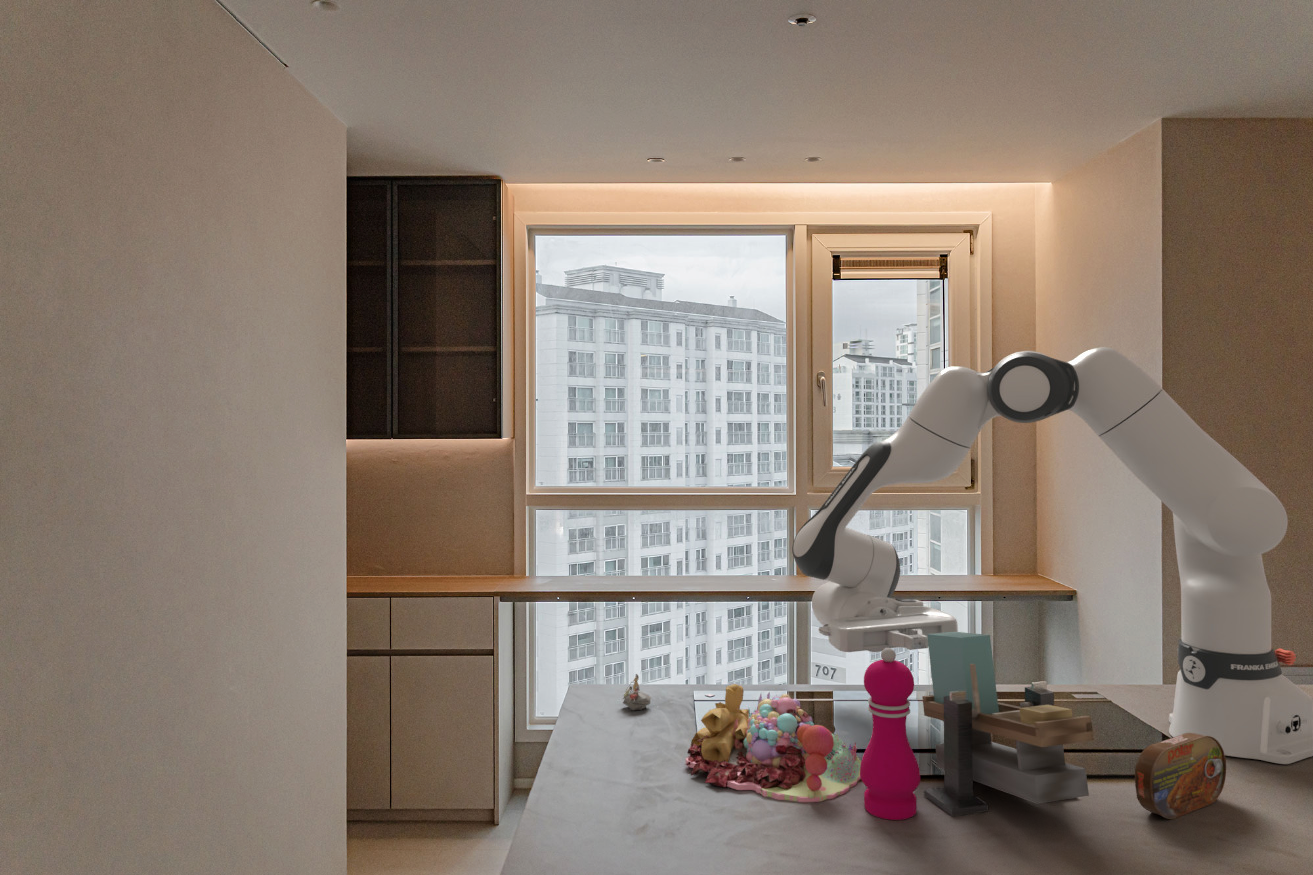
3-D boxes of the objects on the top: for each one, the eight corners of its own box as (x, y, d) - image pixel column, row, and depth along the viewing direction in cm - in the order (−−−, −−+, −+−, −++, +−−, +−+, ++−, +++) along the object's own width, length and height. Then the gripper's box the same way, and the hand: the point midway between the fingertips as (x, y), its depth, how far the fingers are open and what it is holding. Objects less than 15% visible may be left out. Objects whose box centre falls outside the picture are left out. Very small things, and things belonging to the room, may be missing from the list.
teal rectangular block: (962, 704, 121) (954, 631, 122) (999, 712, 113) (989, 634, 115) (935, 707, 120) (927, 634, 121) (969, 716, 112) (960, 637, 114)
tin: (1154, 826, 102) (1154, 755, 101) (1129, 815, 104) (1128, 746, 104) (1229, 798, 108) (1229, 731, 108) (1203, 789, 111) (1203, 724, 111)
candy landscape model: (662, 784, 116) (661, 716, 116) (715, 725, 138) (714, 668, 138) (850, 813, 107) (850, 739, 107) (876, 745, 129) (875, 683, 129)
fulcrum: (1043, 777, 115) (1042, 673, 115) (1076, 796, 110) (1075, 686, 109) (924, 795, 111) (922, 686, 110) (951, 816, 105) (950, 701, 105)
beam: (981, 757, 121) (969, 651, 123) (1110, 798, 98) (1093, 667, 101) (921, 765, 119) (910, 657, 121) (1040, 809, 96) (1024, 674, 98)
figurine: (654, 706, 147) (654, 673, 147) (645, 714, 143) (644, 680, 143) (627, 703, 149) (626, 670, 149) (617, 711, 145) (616, 677, 145)
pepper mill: (923, 824, 103) (921, 657, 102) (861, 820, 104) (859, 654, 104) (917, 798, 110) (916, 641, 109) (859, 794, 111) (857, 639, 111)
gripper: (813, 608, 138) (855, 628, 124) (927, 598, 143) (979, 616, 130) (814, 647, 138) (856, 671, 124) (927, 636, 143) (979, 658, 130)
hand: (919, 643), depth 127 cm, fingers closed
